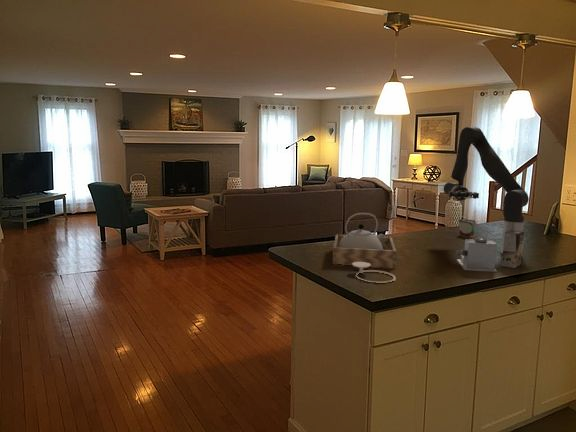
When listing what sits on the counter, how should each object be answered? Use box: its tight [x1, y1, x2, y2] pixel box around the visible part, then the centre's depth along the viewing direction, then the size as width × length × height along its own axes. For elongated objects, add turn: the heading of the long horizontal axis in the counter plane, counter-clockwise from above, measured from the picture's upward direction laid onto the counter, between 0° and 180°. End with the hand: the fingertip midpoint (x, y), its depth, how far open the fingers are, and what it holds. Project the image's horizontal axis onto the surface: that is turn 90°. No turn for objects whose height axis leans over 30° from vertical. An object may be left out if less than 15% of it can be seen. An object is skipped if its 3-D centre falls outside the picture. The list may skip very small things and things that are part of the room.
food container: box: [458, 218, 478, 240], centre depth 284 cm, size 12×6×10 cm, turn 22°
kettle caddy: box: [332, 234, 397, 269], centre depth 229 cm, size 28×30×8 cm
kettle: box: [338, 212, 386, 250], centre depth 228 cm, size 25×23×22 cm
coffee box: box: [501, 230, 525, 269], centre depth 221 cm, size 9×6×16 cm
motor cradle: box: [455, 237, 498, 273], centre depth 218 cm, size 17×17×14 cm
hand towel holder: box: [352, 262, 397, 284], centre depth 199 cm, size 17×4×21 cm
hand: (466, 196), depth 235 cm, fingers open, 8 cm apart
